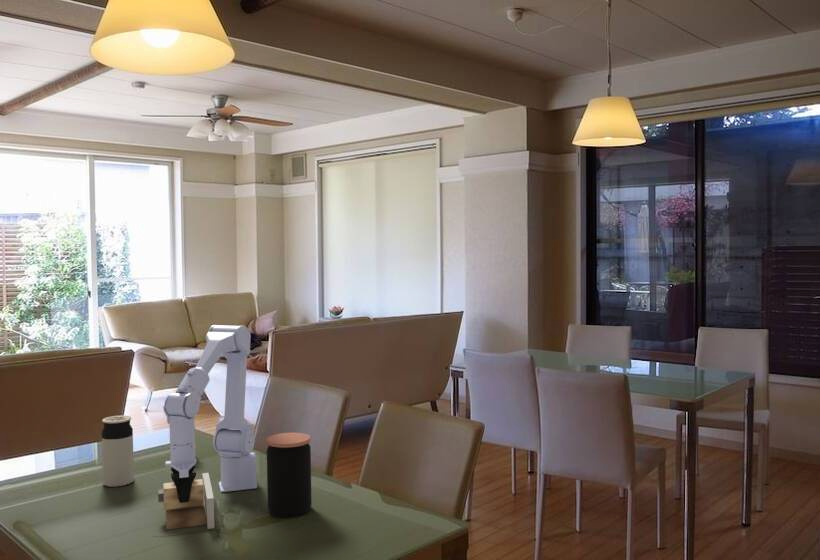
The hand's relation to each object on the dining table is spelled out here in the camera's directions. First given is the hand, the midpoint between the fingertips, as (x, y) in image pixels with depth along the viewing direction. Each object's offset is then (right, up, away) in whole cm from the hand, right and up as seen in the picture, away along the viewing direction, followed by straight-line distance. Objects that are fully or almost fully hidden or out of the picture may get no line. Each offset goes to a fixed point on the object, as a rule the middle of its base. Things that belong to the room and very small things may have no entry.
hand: (183, 498), depth 172 cm
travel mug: (-26, -4, +26) cm, 37 cm away
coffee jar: (+25, -4, +4) cm, 26 cm away
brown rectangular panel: (0, -4, 0) cm, 4 cm away
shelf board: (+5, -4, +2) cm, 7 cm away
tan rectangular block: (0, -1, 0) cm, 1 cm away
